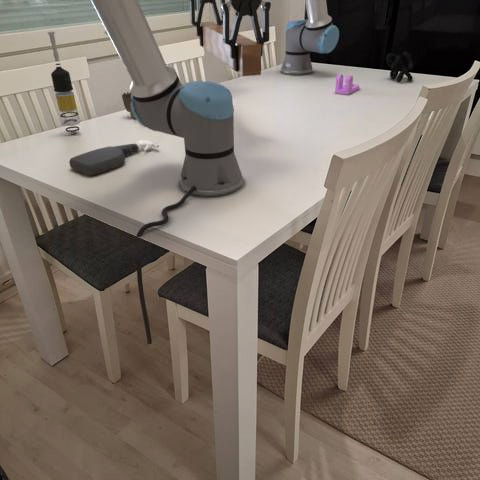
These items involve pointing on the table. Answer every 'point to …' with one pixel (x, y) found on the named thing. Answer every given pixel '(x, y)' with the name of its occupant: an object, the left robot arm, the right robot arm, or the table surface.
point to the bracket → (348, 87)
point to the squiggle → (399, 66)
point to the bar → (214, 44)
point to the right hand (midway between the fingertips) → (209, 45)
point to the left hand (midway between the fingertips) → (246, 69)
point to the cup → (127, 102)
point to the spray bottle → (106, 157)
